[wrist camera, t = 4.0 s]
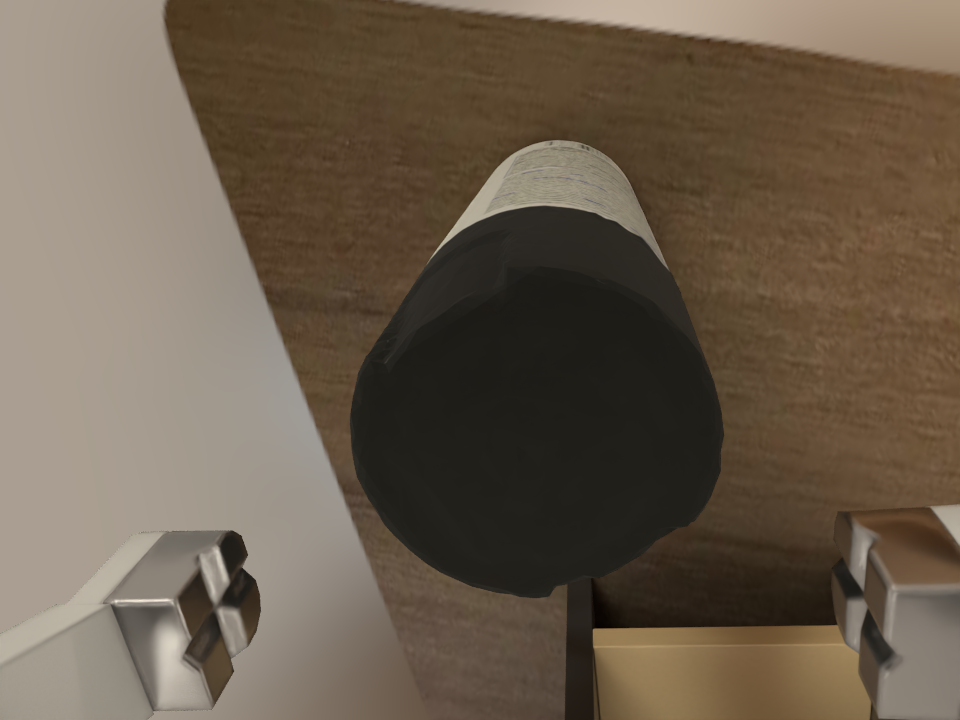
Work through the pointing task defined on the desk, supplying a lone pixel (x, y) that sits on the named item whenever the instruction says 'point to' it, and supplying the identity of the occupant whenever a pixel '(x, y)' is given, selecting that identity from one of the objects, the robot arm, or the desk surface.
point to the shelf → (708, 671)
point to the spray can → (539, 386)
